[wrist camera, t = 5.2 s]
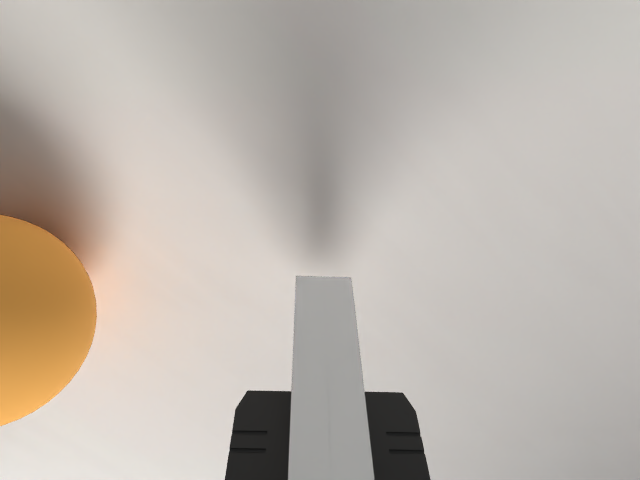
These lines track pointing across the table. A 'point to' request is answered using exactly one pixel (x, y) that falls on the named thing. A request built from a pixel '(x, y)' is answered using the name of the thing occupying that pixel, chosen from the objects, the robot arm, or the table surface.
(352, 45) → the table surface
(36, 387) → the ball
